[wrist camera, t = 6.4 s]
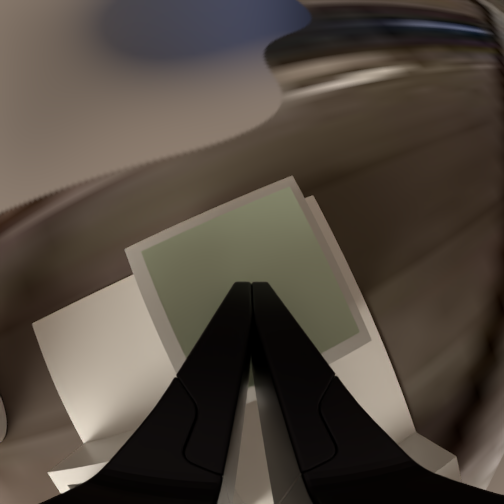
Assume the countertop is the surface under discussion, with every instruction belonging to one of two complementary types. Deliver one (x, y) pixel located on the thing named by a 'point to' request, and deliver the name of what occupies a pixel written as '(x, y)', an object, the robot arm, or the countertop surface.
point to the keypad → (172, 358)
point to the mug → (2, 421)
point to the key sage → (250, 271)
